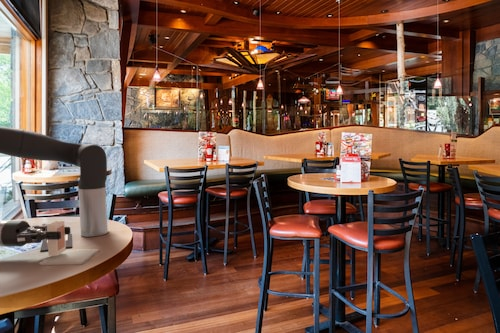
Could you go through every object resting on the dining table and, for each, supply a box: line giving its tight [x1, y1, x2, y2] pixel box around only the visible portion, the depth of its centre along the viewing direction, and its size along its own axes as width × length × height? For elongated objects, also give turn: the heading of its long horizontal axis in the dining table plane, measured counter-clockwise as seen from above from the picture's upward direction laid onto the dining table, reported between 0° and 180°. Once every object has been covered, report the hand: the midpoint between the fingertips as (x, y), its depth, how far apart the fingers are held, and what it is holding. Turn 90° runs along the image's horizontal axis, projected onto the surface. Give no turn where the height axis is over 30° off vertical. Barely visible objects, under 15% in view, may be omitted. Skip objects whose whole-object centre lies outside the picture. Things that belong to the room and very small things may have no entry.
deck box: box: [47, 220, 67, 257], centre depth 108 cm, size 5×3×9 cm, turn 0°
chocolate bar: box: [39, 233, 73, 253], centre depth 125 cm, size 9×1×18 cm
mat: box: [38, 248, 100, 266], centre depth 109 cm, size 12×12×1 cm
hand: (65, 232), depth 108 cm, fingers closed on deck box, 4 cm apart
